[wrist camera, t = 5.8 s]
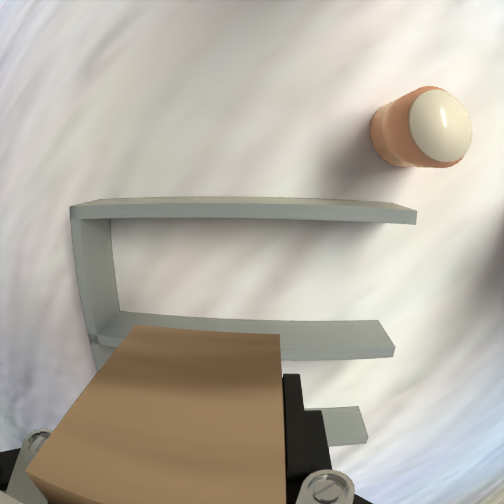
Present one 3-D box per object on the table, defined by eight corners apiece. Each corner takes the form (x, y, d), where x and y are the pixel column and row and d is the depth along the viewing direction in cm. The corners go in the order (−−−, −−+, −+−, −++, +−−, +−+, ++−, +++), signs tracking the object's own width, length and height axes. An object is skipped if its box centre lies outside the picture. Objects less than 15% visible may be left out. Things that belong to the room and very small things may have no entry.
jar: (369, 99, 23) (404, 76, 16) (426, 108, 23) (474, 93, 15) (369, 163, 25) (406, 162, 17) (426, 169, 24) (476, 173, 17)
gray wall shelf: (99, 199, 26) (69, 206, 22) (392, 202, 25) (417, 210, 20) (130, 400, 32) (115, 428, 28) (356, 412, 31) (366, 443, 26)
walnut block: (135, 324, 10) (24, 470, 4) (279, 334, 10) (286, 531, 4) (154, 423, 12) (100, 556, 5) (271, 435, 12) (268, 586, 5)
